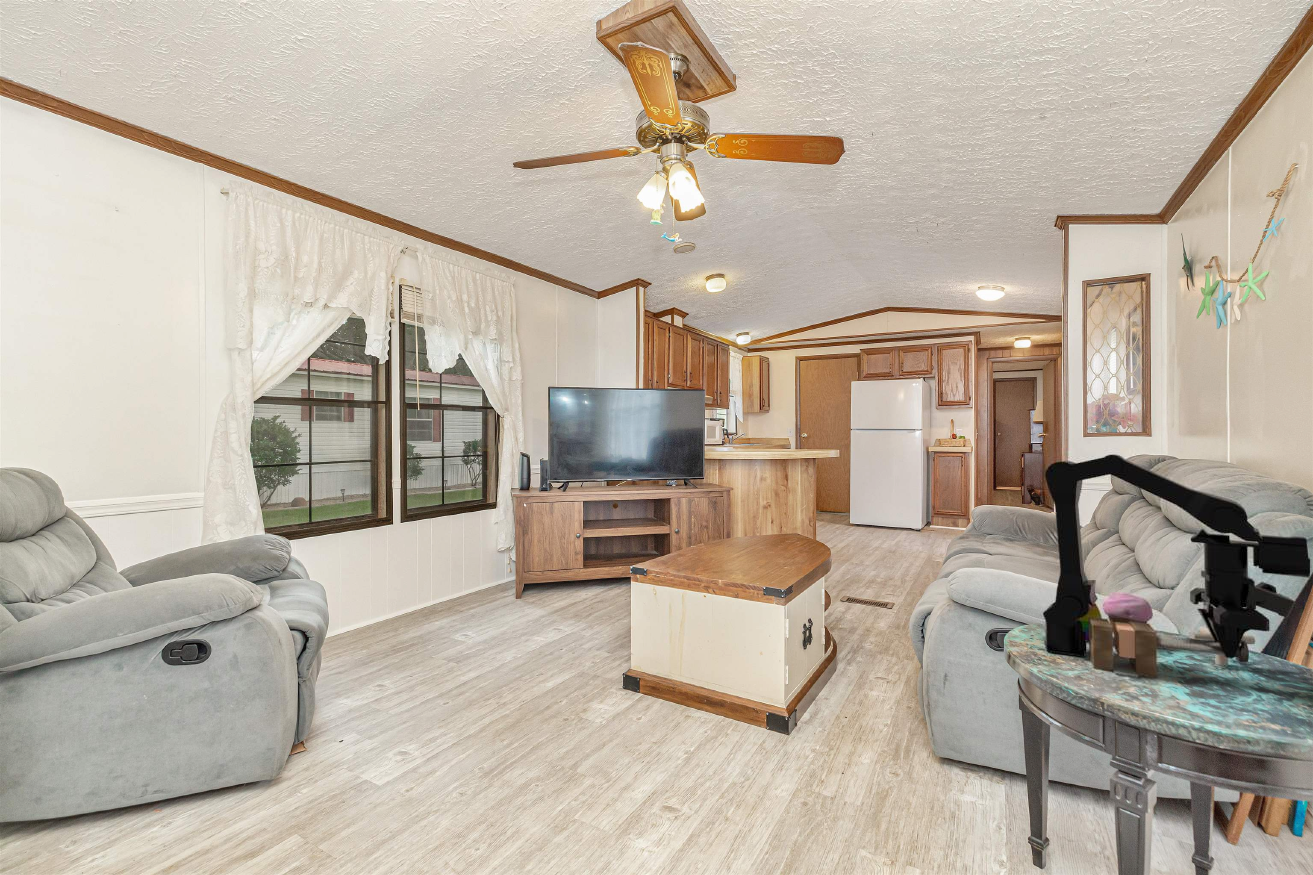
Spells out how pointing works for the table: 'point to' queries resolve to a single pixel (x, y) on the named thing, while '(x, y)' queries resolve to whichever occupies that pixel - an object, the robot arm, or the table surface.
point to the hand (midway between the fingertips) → (1226, 655)
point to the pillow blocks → (1104, 646)
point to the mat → (1123, 667)
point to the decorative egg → (1093, 613)
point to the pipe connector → (1206, 635)
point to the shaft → (1200, 646)
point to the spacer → (1124, 640)
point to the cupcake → (1127, 609)
